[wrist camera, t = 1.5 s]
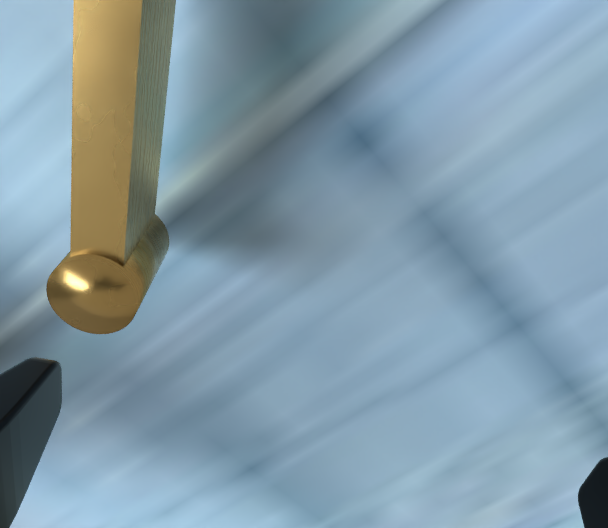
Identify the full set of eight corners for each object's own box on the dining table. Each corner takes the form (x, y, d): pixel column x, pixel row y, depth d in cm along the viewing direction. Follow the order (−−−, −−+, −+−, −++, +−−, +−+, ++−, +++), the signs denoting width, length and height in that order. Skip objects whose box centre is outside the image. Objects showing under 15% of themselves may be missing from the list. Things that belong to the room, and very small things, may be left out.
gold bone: (102, -269, 12) (19, -367, 9) (237, -228, 12) (209, -306, 9) (86, 259, 19) (36, 322, 16) (173, 276, 19) (143, 343, 16)
